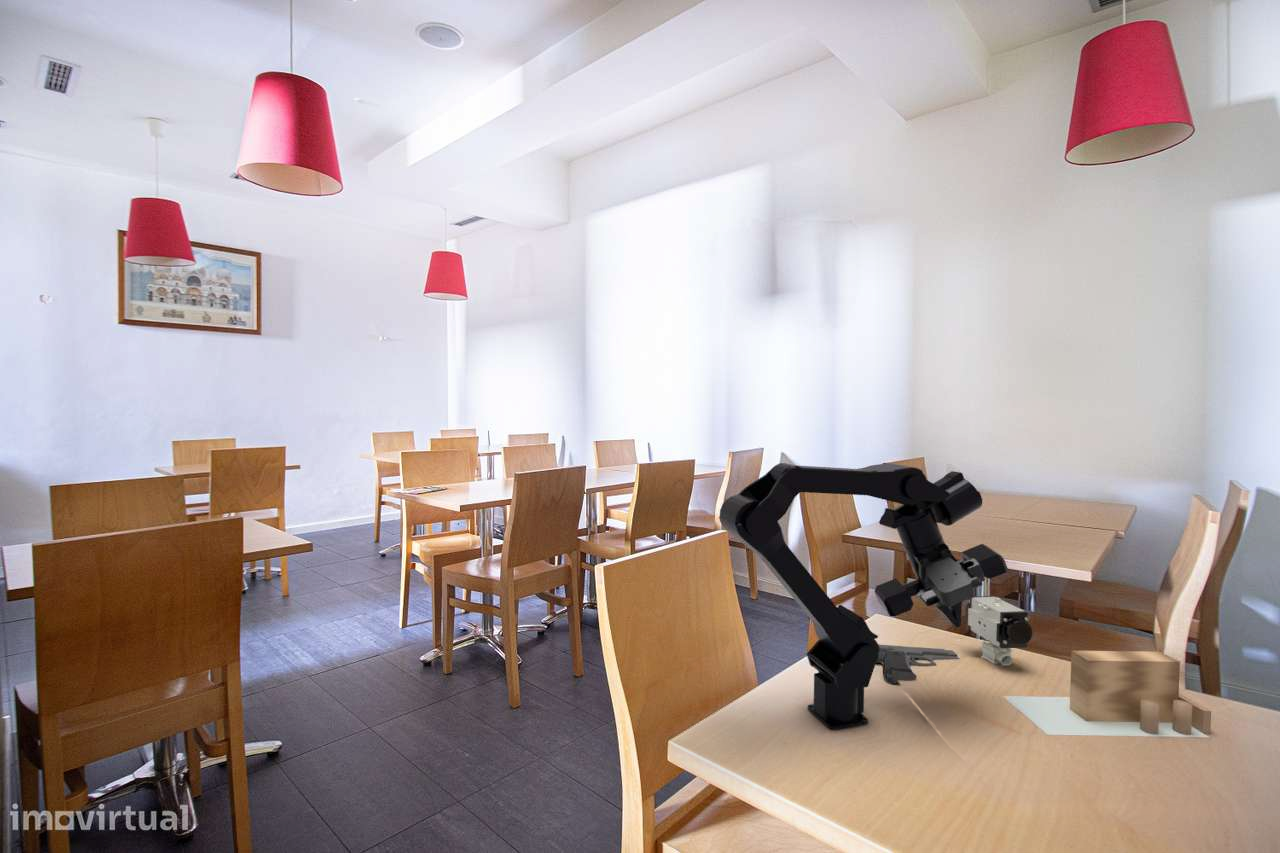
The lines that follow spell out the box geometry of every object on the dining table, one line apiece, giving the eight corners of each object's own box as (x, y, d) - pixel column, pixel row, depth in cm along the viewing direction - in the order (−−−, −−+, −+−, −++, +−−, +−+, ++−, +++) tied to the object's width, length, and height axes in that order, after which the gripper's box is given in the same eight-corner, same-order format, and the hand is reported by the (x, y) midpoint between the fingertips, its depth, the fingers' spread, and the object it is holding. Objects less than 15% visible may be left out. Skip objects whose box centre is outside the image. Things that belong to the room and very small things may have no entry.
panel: (1047, 740, 85) (1048, 706, 85) (1002, 701, 96) (1003, 671, 95) (1216, 742, 84) (1218, 709, 84) (1152, 703, 95) (1153, 673, 95)
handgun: (987, 675, 101) (951, 644, 113) (888, 668, 101) (863, 638, 113) (985, 694, 101) (950, 661, 113) (886, 687, 101) (861, 655, 113)
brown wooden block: (1086, 721, 88) (1088, 660, 88) (1069, 709, 92) (1071, 650, 91) (1177, 722, 88) (1179, 661, 87) (1157, 710, 91) (1159, 651, 91)
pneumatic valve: (986, 649, 115) (988, 587, 115) (1032, 677, 104) (1034, 608, 103) (959, 651, 115) (960, 588, 114) (1002, 679, 103) (1004, 609, 103)
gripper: (883, 585, 86) (922, 677, 88) (1010, 534, 84) (1047, 629, 86) (858, 555, 97) (893, 638, 99) (970, 509, 95) (1003, 595, 97)
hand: (957, 626), depth 95 cm, fingers closed
